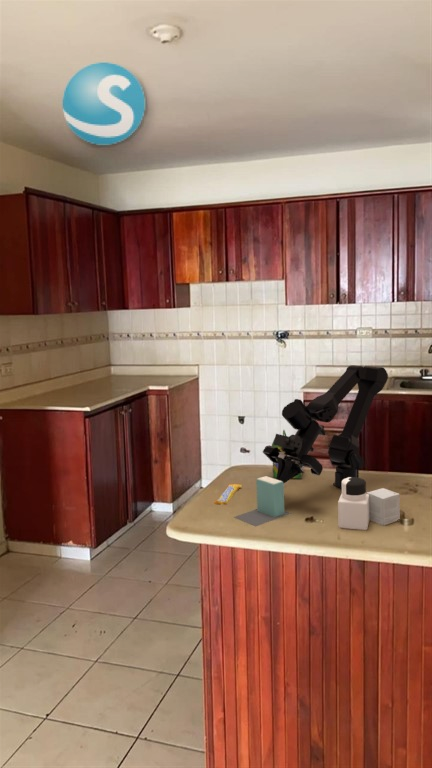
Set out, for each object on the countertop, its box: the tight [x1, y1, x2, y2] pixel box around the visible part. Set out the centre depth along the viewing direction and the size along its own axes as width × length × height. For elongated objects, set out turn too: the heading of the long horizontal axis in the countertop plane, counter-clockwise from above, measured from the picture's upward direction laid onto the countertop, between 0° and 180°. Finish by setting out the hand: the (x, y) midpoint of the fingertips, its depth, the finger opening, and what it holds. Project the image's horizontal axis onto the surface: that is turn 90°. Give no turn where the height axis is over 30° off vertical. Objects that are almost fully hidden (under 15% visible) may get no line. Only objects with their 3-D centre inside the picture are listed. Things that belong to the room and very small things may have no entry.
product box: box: [366, 487, 401, 526], centre depth 160 cm, size 6×6×7 cm
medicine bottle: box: [337, 477, 371, 531], centre depth 158 cm, size 7×7×12 cm
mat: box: [233, 508, 292, 527], centre depth 166 cm, size 13×9×1 cm
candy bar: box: [213, 483, 242, 505], centre depth 184 cm, size 17×4×2 cm, turn 163°
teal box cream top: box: [255, 475, 285, 517], centre depth 168 cm, size 4×7×9 cm, turn 38°
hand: (277, 485), depth 169 cm, fingers closed
